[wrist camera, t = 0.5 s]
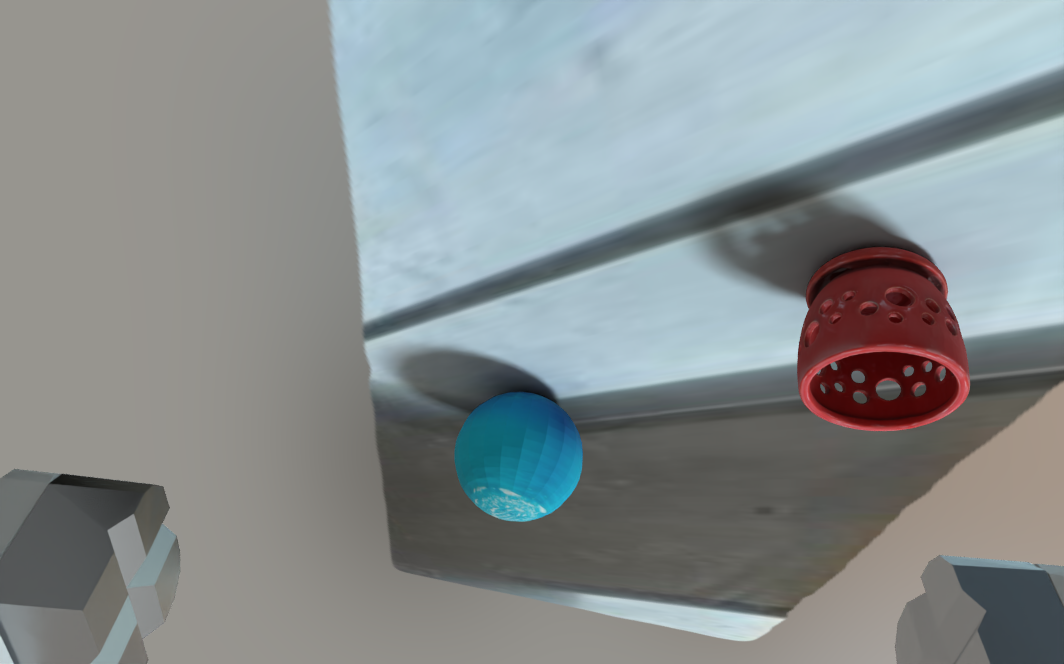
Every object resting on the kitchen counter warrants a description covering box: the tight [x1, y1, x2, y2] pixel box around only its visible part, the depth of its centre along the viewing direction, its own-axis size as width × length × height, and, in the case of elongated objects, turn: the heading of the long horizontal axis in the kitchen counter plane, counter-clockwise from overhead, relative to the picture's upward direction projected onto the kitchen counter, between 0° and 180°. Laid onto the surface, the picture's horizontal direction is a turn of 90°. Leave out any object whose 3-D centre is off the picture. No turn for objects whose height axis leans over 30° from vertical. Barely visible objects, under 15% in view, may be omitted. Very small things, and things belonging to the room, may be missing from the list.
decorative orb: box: [455, 392, 583, 521], centre depth 108 cm, size 15×15×15 cm
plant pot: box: [797, 247, 970, 431], centre depth 78 cm, size 13×13×12 cm
